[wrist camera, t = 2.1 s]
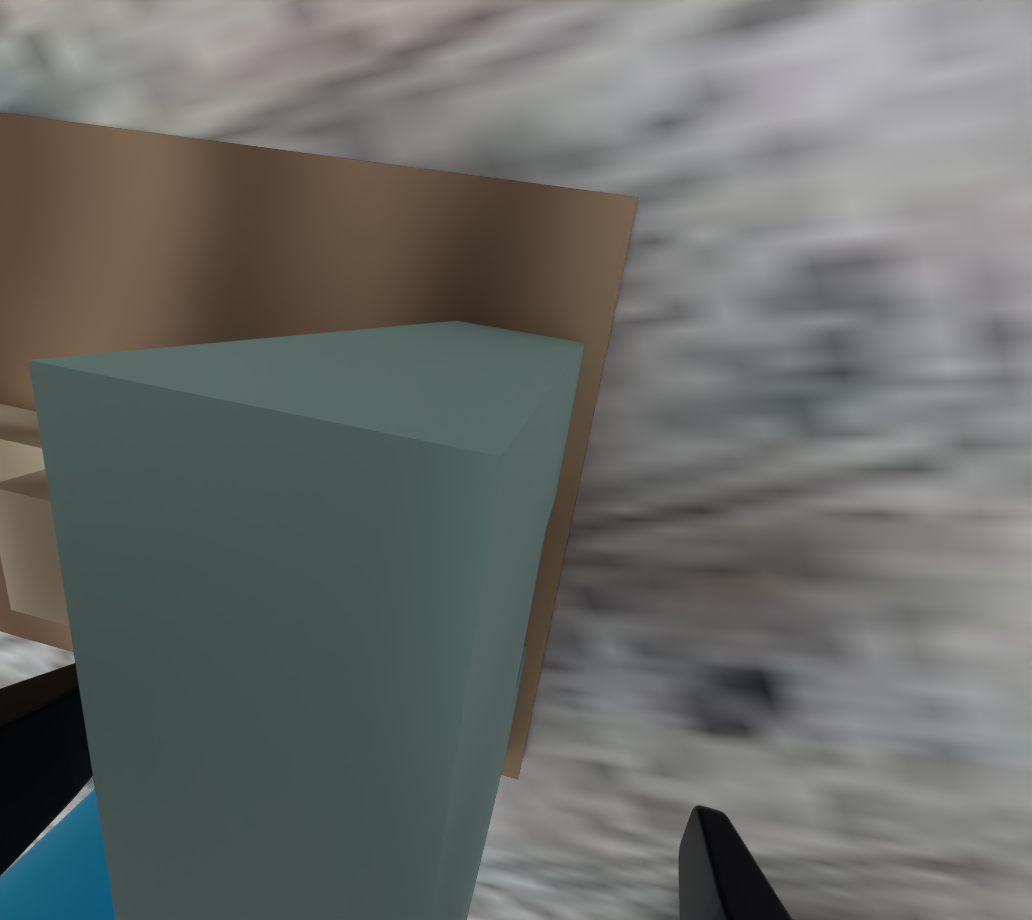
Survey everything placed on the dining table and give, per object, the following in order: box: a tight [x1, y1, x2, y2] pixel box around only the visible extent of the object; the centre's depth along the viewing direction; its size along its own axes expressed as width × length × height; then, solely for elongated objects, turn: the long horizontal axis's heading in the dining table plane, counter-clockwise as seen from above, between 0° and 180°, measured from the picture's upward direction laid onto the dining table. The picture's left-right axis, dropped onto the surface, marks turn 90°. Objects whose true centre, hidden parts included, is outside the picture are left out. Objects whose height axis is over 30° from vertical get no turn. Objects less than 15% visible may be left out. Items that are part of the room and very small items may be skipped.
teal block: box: [28, 321, 585, 920], centre depth 9 cm, size 3×12×9 cm, turn 171°
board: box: [0, 113, 638, 779], centre depth 14 cm, size 20×16×1 cm
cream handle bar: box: [0, 404, 70, 626], centre depth 13 cm, size 10×3×4 cm, turn 81°
